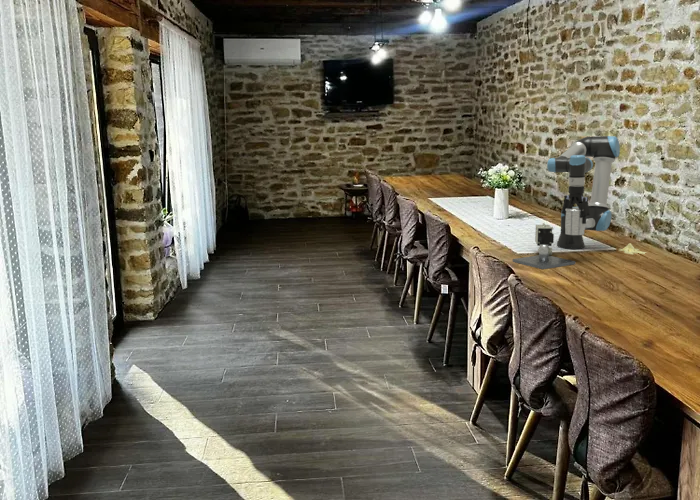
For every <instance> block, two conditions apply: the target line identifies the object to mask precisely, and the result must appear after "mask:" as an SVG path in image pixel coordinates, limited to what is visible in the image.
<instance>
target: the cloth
mask: <svg viewBox="0 0 700 500" xmlns="http://www.w3.org/2000/svg"><path fill="white" fill-rule="evenodd" d="M617 251H619V252H623V253H624V254H628V255H634V254H638V253H639V254H641V255H646V254H645V253H647V252H646V251H641V250H640V249H639V248H635V247H634V246H633V244H632V243H628V244H627V245H626V246H624V248H619V249H618V250H617Z"/></svg>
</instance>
